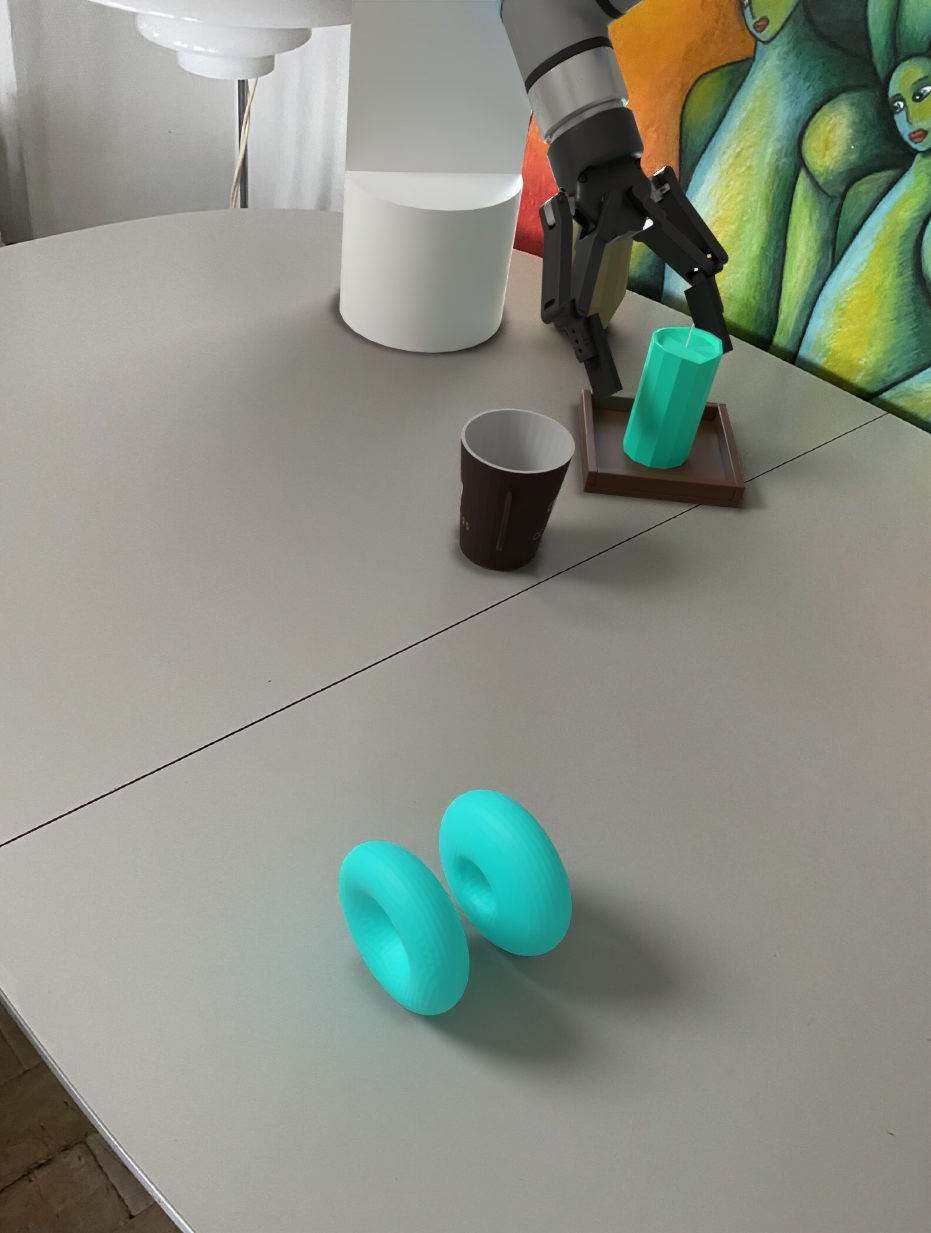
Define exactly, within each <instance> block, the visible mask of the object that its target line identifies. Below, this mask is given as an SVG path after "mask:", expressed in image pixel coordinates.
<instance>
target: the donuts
mask: <svg viewBox="0 0 931 1233" xmlns="http://www.w3.org/2000/svg"><path fill="white" fill-rule="evenodd" d="M438 850H439V858H440V862H441V867H442V870H443V874H444V877H445V880H446V883H447V886H448V888H449V890H450V892H451V895H452V896H453V898H454V899H455V902H456V903H457V905H458V907H459V908H460V910H461V912H462V913H463V914H464V915H465V916H466V919H468V921H469V922H470V924H472V925H473V927H474V928H475V929H476V930H477V931H478V932H479V933H480V934H481V935H482V936H483V937H484V938H486V939H487V940H488V941H489V942H490V943H492V944H493V945H495V946H496V947H498V948H500V949H502V950H504V951H506V952H508V953H510V954H513V955H518V956H522V957H523V956H524V957H535V956H540V955H543V954H544V955H545V954H546V953H548V952H550V951H552V950H554V949H555V948H556V947H557V946H558V945H559V944H560V943H561V942H562V941H563V940H564V938H565V936H566V934H567V932H568V930H569V928H570V925H571V919H572V912H573V901H572V900H573V899H572V898H573V897H572V890H571V886H570V881H569V878H568V875H567V871H566V868H565V866H564V863H563V861H562V858H561V857H560V855H559V852H558V850H557V848H556V846H555V845H554V842H552V839H551V838H550V837H549V835H548V833H547V832H546V830H545V829H544V828H543V827H542V825H541V824H540V823H539V822H538V820H537V819H536V818H535V817H534V816H533V814H531V812H529V810H527V809H526V808H525V807H524V806H523V805H522V804H520V803H519V802H517V801H516V800H515V799H513V798H512V797H510V796H508V795H506V794H504V793H501V792H499V791H496V790H494V789H493V790H491V789H487V788H486V789H485V788H484V789H483V788H478V789H473V790H469V791H466V792H464V793H462V794H460V795H458V796H457V797H456V798H454V799H453V800H452V802H451V803H450V804H449V805H448V807H447V808H446V810H445V812H444V814H443V816H442V819H441V822H440V826H439V834H438ZM338 893H339V900H340V905H341V909H342V913H343V916H344V919H345V922H346V925H347V928H348V931H349V933H350V935H351V938H352V940H353V942H354V945H356V949H357V950H358V952H359V954H360V956H361V957H362V960H363V961H364V963H365V964H366V966H367V968H368V969H369V971H370V972H371V974H372V975H373V976H374V978H375V980H376V981H377V982H378V984H380V986H381V987H382V988H383V989H384V991H386V992H387V994H388V995H389V996H390V997H391V998H392V999H393V1000H394V1001H396V1003H398V1004H399V1005H400V1006H402V1007H403V1008H404V1009H406V1010H409V1011H410V1012H412V1013H415V1014H418V1015H422V1016H436V1015H441V1014H444V1013H446V1012H448V1011H449V1010H450V1011H451V1009H452V1008H454V1007H455V1006H456V1005H457V1004H458V1003H459V1001H460V1000H461V998H462V997H463V995H464V993H465V991H466V988H467V985H468V982H469V977H470V976H469V975H470V953H469V947H468V940H467V937H466V933H465V930H464V926H463V923H462V921H461V918H460V916H459V913H458V910H457V909H456V907H455V905H454V903H453V901H452V899H451V897H450V895H449V893H448V892H447V890H446V889H445V887H444V886H443V884H442V882H441V881H440V880H439V879H438V878H437V876H436V875H435V874H434V873H433V872H432V870H431V869H430V868H429V867H428V866H427V865H426V864H425V863H424V861H422V860H421V859H420V858H419V857H417V856H416V855H415V854H414V853H413V852H411V851H410V850H408V849H406V848H405V847H402V846H401V845H399V844H396V843H394V842H390V841H386V840H369V841H364V842H362V843H360V844H358V845H356V846H354V847H353V848H352V849H351V850H350V851H349V852H348V853H347V855H346V856H345V858H344V859H343V861H342V864H341V867H340V870H339V875H338Z"/></svg>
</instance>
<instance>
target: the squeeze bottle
mask: <svg viewBox="0 0 931 1233" xmlns="http://www.w3.org/2000/svg"><path fill="white" fill-rule="evenodd" d="M578 230H579V225H578V224H577V223H576V222H575V221H574V220H573V246H572V265H573V261H574V257H575V253H576V251H575V250H574V245H575V241H576V238H577V234H578ZM633 246H634V240H633V239H632V238H630V239H628V240H625V241H614V242H612V243H611V244H609V245H607V246H605V249H604V252H603V256H602V260H601V264H600V268H599V272H598V276H597V280H596V284H595V288H594V292H593V296H592V300H591V304H590V308H589V312H588V314H587V315H586V316H587V317H589V316H590V315H592V314H596V313H599V316H600V320H601V323H602V326H603V329H604V331H605V330H606V328H607V326H608V325H609V323H610V322H611V320H612V319H613V317H614V316H615V314H616V313H617V310H618V309H619V307H620V305H621V304H622V302H623V301H624V298H625V296H626V294H627V286H628V279H629V274H630V266H631V260H632V259H631V258H632V254H633V253H632V252H633ZM563 330H564V331H566V332H567V329H566V328H565V329H563Z"/></svg>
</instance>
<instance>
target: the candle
mask: <svg viewBox="0 0 931 1233" xmlns="http://www.w3.org/2000/svg"><path fill="white" fill-rule="evenodd" d="M722 354H723V350H722V340H720V339H719V338H717V337H716V336H714V335H713V334H711V333H709V332H706V331H703V330H700V329H697V328H695V326H694V323H692V325H691V326H668V327H667V326H666V327H665V326H664V327H660V328H657V329H655V330H654V331H653V332H652V336H651V340H650V343H649V347H648V350H647V354H646V358H645V361H644V365H643V368H642V372H641V376H640V379H639V383H638V386H637V390H636V394H635V395H636V397H635V401H634V404H633V408H632V411H631V415H630V419H629V422H628V426H627V429H626V433H625V437H624V440H623V445H624V451H625V452H626V453H627V454H628V455H629V456H630V457H631V458H632V459H633V460H634V461H636V462H639V463H641V464H643V465H646V466H648V467H654V468H663V469H668V468H672V467H676V466H681V465H682V464H683V462H684V461H685V460H686V459H687V458H688V456H689V453H690V450H691V447H692V444H693V441H694V438H695V435H696V432H697V429H698V426H699V423H700V420H701V417H702V414H703V411H704V408H705V405H706V402H708V399H709V395H710V392H711V389H712V387H713V384H714V380H715V377H716V374H717V372H718V369H719V366H720V362H721V360H722V357H723V355H724V354H723V355H722Z"/></svg>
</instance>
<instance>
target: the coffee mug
mask: <svg viewBox="0 0 931 1233" xmlns="http://www.w3.org/2000/svg"><path fill="white" fill-rule="evenodd" d="M575 450H576V445H575V440H574V437H573V435H572V434H571V432H570V431H569V430H568V429H567V428H566V427H565V426H564V425H563V424H561V423H560V422H558V421H557V420H555V419H553V418H552V417H549V416H547V415H545V414H542V413H539V412H537V411H533V410H528V409H522V408H514V407H512V408H511V407H509V408H508V407H507V408H505V407H504V408H493V409H489V410H485V411H481V412H479V413H477V414H474V415H473V416H471V417H470V418H469V419H467V421H465V423H464V424H463V426H462V428H461V431H460V479H459V480H460V481H459V483H460V484H459V541H458V542H459V543H458V544H459V548H460V551H461V552H462V554H463V555H464V556H465V557H466V559H467V560H468V561H470V562H472V563H473V564H475V565H477V566H479V567H482V568H485V569H487V570H493V571H498V572H499V571H500V572H502V571H504V572H507V571H515V570H519V569H521V568H524V567H526V566H528V565H529V564H530V563H532V562H533V560H534V559H535V557H536V555H537V553H538V551H539V550H538V549H539V548H540V544H541V541H542V540H543V536H544V533H545V531H546V528H547V526H548V523H549V520H550V518H551V515H552V512H553V510H554V507H555V505H556V502H557V499H558V496H559V493H560V492H561V489H562V486H563V483H564V481H565V478H566V475H567V473H568V470H569V468H570V464H571V462H572V460H573V457H574V454H575Z"/></svg>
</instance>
